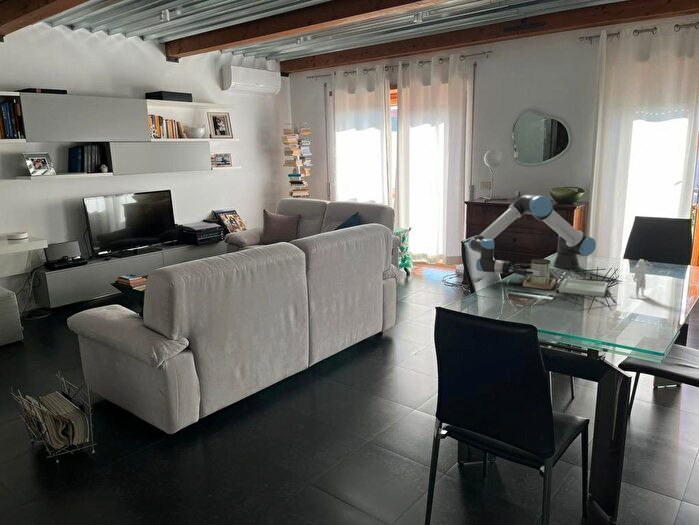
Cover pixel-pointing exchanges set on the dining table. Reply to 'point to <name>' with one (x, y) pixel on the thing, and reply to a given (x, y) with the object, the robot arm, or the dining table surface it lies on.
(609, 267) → the dining table surface
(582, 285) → the tray
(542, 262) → the coffee can
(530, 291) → the dining table surface
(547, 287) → the wooden frame
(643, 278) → the female figurine
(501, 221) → the robot arm
